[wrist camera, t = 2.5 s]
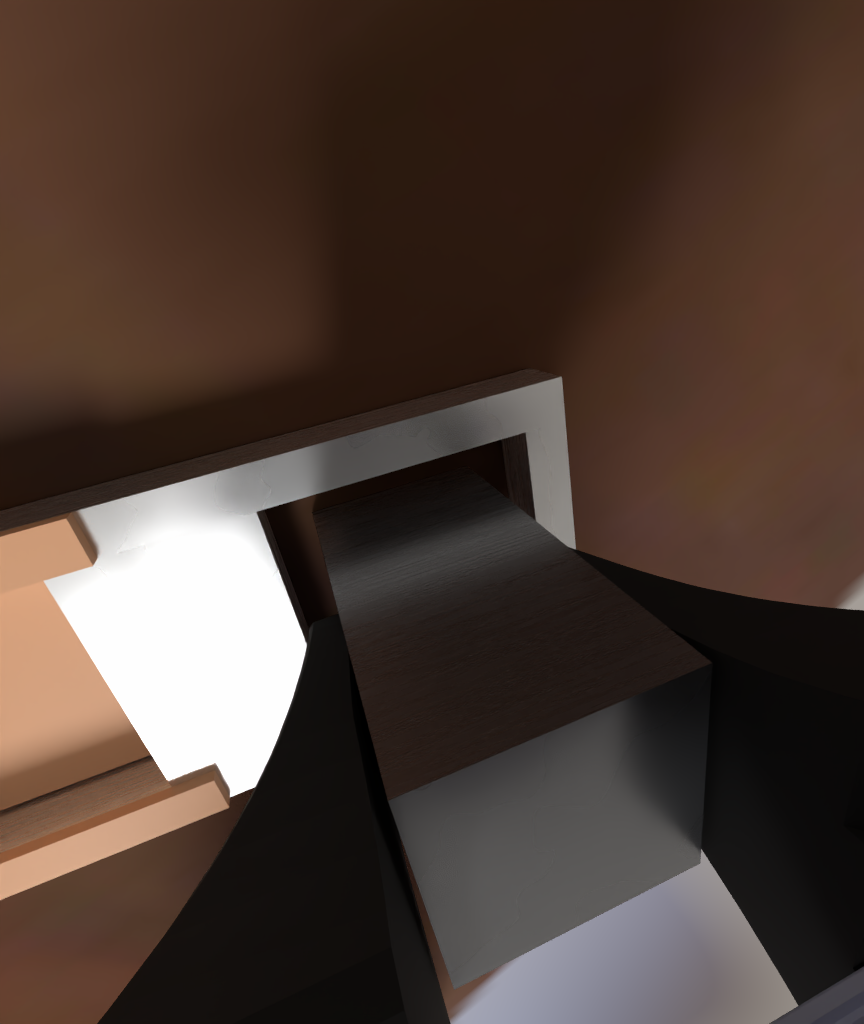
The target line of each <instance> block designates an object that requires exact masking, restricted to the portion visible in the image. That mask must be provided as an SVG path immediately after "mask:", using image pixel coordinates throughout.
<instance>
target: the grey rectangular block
mask: <svg viewBox="0 0 864 1024" xmlns="http://www.w3.org/2000/svg"><path fill="white" fill-rule="evenodd" d="M312 513H313V517H314V521H315V525H316V529H317V532H318V536H319V540H320V544H321V548H322V552H323V555H324V559H325V563H326V567H327V571H328V574H329V578H330V582H331V586H332V590H333V593H334V597H335V601H336V605H337V609H338V612H339V616H340V620H341V624H342V628H343V632H344V635H345V639H346V643H347V647H348V651H349V654H350V658H351V662H352V666H353V670H354V673H355V677H356V681H357V685H358V689H359V693H360V696H361V700H362V704H363V708H364V712H365V715H366V719H367V723H368V727H369V731H370V734H371V738H372V742H373V746H374V750H375V754H376V757H377V761H378V765H379V769H380V773H381V776H382V780H383V784H384V788H385V792H386V795H387V799H388V802H389V805H390V808H391V811H392V814H393V817H394V820H395V822H396V825H397V828H398V831H399V834H400V837H401V839H402V842H403V845H404V848H405V851H406V854H407V856H408V859H409V862H410V865H411V868H412V871H413V874H414V876H415V879H416V882H417V885H418V888H419V891H420V893H421V896H422V899H423V902H424V905H425V908H426V910H427V913H428V916H429V919H430V922H431V925H432V927H433V930H434V933H435V936H436V939H437V942H438V945H439V947H440V950H441V953H442V956H443V959H444V962H445V964H446V967H447V970H448V973H449V976H450V979H451V981H452V984H453V987H454V990H455V989H456V988H458V987H460V986H462V985H464V984H466V983H468V982H470V981H472V980H474V979H476V978H478V977H480V976H482V975H484V974H486V973H488V972H490V971H492V970H493V969H495V968H497V967H499V966H501V965H503V964H505V963H507V962H509V961H511V960H513V959H515V958H517V957H519V956H521V955H523V954H525V953H527V952H529V951H530V950H532V949H534V948H536V947H538V946H540V945H542V944H544V943H546V942H548V941H550V940H552V939H554V938H555V937H558V936H560V935H562V934H564V933H566V932H567V931H569V930H571V929H573V928H575V927H577V926H579V925H581V924H583V923H585V922H587V921H589V920H591V919H593V918H595V917H597V916H599V915H601V914H603V913H604V912H606V911H608V910H610V909H612V908H614V907H616V906H618V905H620V904H622V903H624V902H626V901H628V900H629V899H632V898H633V897H636V896H638V895H640V894H641V893H643V892H645V891H647V890H649V889H651V888H653V887H655V886H657V885H659V884H661V883H663V882H665V881H667V880H669V879H670V878H673V877H674V876H677V875H678V874H680V873H682V872H684V871H686V870H688V869H690V868H692V867H694V866H696V865H698V864H700V859H701V858H700V857H701V842H702V825H703V809H704V792H705V776H706V759H707V742H708V726H709V709H710V692H711V676H712V662H711V661H709V660H708V659H707V658H706V657H704V656H703V655H702V654H701V653H699V652H698V651H697V650H696V649H694V648H693V647H692V646H691V645H689V644H688V643H687V642H686V641H685V640H683V639H682V638H681V637H680V636H678V635H677V634H676V633H675V632H673V631H672V630H671V629H670V628H668V627H667V626H666V625H665V624H663V623H662V622H661V621H660V620H658V619H657V618H656V617H655V616H653V615H652V614H651V613H650V612H648V611H647V610H646V609H645V608H643V607H642V606H641V605H640V604H638V603H637V602H636V601H635V600H633V599H632V598H631V597H630V596H629V595H627V594H626V593H625V592H624V591H622V590H621V589H620V588H619V587H617V586H616V585H615V584H614V583H612V582H611V581H610V580H609V579H607V578H606V577H605V576H604V575H602V574H601V573H600V572H599V571H597V570H596V569H595V568H594V567H592V566H591V565H590V564H589V563H587V562H586V561H585V560H584V559H582V558H581V557H580V556H579V555H577V554H576V553H575V552H574V551H573V550H571V549H570V548H569V547H568V546H566V545H565V544H564V543H563V542H561V541H560V540H559V539H558V538H556V537H555V536H554V535H553V534H551V533H550V532H549V531H548V530H546V529H545V528H544V527H543V526H541V525H540V524H539V523H538V522H536V521H535V520H534V519H533V518H531V517H530V516H529V515H528V514H526V513H525V512H524V511H523V510H521V509H520V508H519V507H518V506H517V505H515V504H514V503H513V502H512V501H510V500H509V499H508V498H507V497H505V496H504V495H503V494H502V493H500V492H499V491H498V490H497V489H495V488H494V487H493V486H492V485H490V484H489V483H488V482H487V481H485V480H484V479H483V478H482V477H480V476H479V475H478V474H477V473H475V472H474V471H473V470H472V469H470V468H469V467H468V466H465V467H461V468H458V469H455V470H451V471H448V472H445V473H441V474H438V475H435V476H431V477H428V478H425V479H422V480H418V481H415V482H412V483H408V484H405V485H402V486H398V487H395V488H392V489H388V490H385V491H382V492H379V493H375V494H372V495H369V496H365V497H362V498H359V499H355V500H352V501H349V502H345V503H342V504H339V505H335V506H332V507H329V508H326V509H322V510H319V511H316V512H312Z"/></svg>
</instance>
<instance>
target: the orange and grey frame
mask: <svg viewBox="0 0 864 1024" xmlns="http://www.w3.org/2000/svg"><path fill="white" fill-rule="evenodd" d="M498 440H501V444H502V451H503V458H504V465H505V472H506V479H507V487H508V494H509V500H510V501H512V502H513V503H514V504H515V505H517V506H518V507H519V508H520V509H521V510H523V511H524V512H525V513H526V514H528V515H529V516H530V517H531V518H533V519H534V520H535V521H536V522H538V523H539V524H540V525H541V526H543V527H544V528H545V529H546V530H548V531H549V532H550V533H551V534H553V535H554V536H555V537H556V538H558V539H559V540H560V541H561V542H563V543H564V544H565V545H566V546H568V547H570V548H573V549H576V546H575V533H574V521H573V508H572V496H571V484H570V471H569V459H568V447H567V434H566V422H565V410H564V397H563V385H562V377H561V376H558V375H554V374H550V373H546V372H542V371H539V370H535V369H531V368H529V369H525V370H521V371H518V372H514V373H510V374H506V375H503V376H499V377H495V378H491V379H488V380H484V381H480V382H477V383H473V384H469V385H465V386H462V387H458V388H454V389H451V390H447V391H443V392H439V393H436V394H432V395H428V396H425V397H421V398H417V399H413V400H410V401H406V402H402V403H399V404H395V405H391V406H387V407H384V408H380V409H376V410H373V411H369V412H365V413H361V414H358V415H354V416H350V417H347V418H343V419H339V420H335V421H332V422H328V423H324V424H321V425H317V426H313V427H309V428H306V429H302V430H298V431H295V432H291V433H287V434H283V435H280V436H276V437H272V438H269V439H265V440H261V441H257V442H254V443H250V444H246V445H243V446H239V447H235V448H231V449H228V450H224V451H220V452H217V453H213V454H209V455H205V456H202V457H198V458H194V459H191V460H187V461H183V462H179V463H176V464H172V465H168V466H165V467H161V468H157V469H153V470H150V471H146V472H142V473H139V474H135V475H131V476H127V477H124V478H120V479H116V480H113V481H109V482H105V483H101V484H98V485H94V486H90V487H87V488H83V489H79V490H75V491H72V492H68V493H64V494H61V495H57V496H53V497H49V498H46V499H42V500H38V501H35V502H31V503H27V504H23V505H20V506H16V507H12V508H9V509H5V510H1V511H0V532H2V531H5V530H9V529H13V528H16V527H20V526H23V525H27V524H31V523H34V522H38V521H41V520H45V519H49V518H52V517H56V516H60V515H63V514H67V513H70V512H72V514H73V516H74V518H75V519H76V521H77V523H78V525H79V527H80V528H81V530H82V532H83V534H84V536H85V537H86V539H87V541H88V543H89V545H90V546H91V548H92V550H93V552H94V554H95V555H96V557H97V560H96V562H95V564H94V565H93V566H92V567H88V568H85V569H82V570H78V571H75V572H72V573H68V574H65V575H62V576H58V577H55V578H51V579H48V580H45V581H44V583H45V584H46V586H47V588H48V589H49V591H50V592H51V594H52V596H53V597H54V599H55V600H56V602H57V604H58V605H59V607H60V608H61V610H62V612H63V613H64V615H65V616H66V618H67V620H68V621H69V623H70V625H71V626H72V628H73V629H74V631H75V633H76V634H77V636H78V637H79V639H80V641H81V642H82V644H83V645H84V647H85V649H86V650H87V652H88V653H89V655H90V657H91V658H92V660H93V661H94V663H95V665H96V666H97V668H98V669H99V671H100V673H101V674H102V676H103V677H104V679H105V681H106V682H107V684H108V686H109V687H110V689H111V690H112V692H113V694H114V695H115V697H116V698H117V700H118V702H119V703H120V705H121V706H122V708H123V710H124V711H125V713H126V714H127V716H128V718H129V719H130V721H131V722H132V724H133V726H134V727H135V729H136V730H137V732H138V734H139V735H140V737H141V739H142V740H143V742H144V743H145V745H146V747H147V748H148V750H149V751H150V753H151V755H149V756H146V757H143V758H141V759H138V760H135V761H133V762H130V763H127V764H125V765H122V766H119V767H117V768H114V769H111V770H109V771H106V772H103V773H100V774H98V775H95V776H92V777H90V778H87V779H84V780H82V781H79V782H76V783H74V784H71V785H68V786H66V787H63V788H60V789H58V790H55V791H52V792H49V793H47V794H44V795H41V796H39V797H36V798H33V799H31V800H28V801H25V802H23V803H20V804H17V805H15V806H12V807H9V808H6V809H4V810H1V811H0V853H2V852H5V851H7V850H10V849H13V848H15V847H18V846H20V845H23V844H25V843H28V842H31V841H33V840H36V839H38V838H41V837H44V836H46V835H49V834H51V833H54V832H57V831H59V830H62V829H64V828H67V827H69V826H72V825H75V824H77V823H80V822H82V821H85V820H88V819H90V818H93V817H95V816H98V815H100V814H103V813H106V812H108V811H111V810H113V809H116V808H119V807H121V806H124V805H126V804H129V803H131V802H134V801H137V800H139V799H142V798H144V797H147V796H150V795H152V794H155V793H157V792H160V791H162V790H165V789H168V788H170V787H173V786H175V785H178V784H181V783H183V782H186V781H188V780H191V779H194V778H196V777H199V776H201V775H204V774H206V773H209V772H212V771H214V770H215V771H216V773H217V775H218V777H219V779H220V780H221V782H222V784H223V786H224V788H225V789H226V791H227V793H228V795H229V797H231V796H234V795H236V794H239V793H241V792H244V791H247V790H249V789H252V788H254V787H256V785H257V782H258V780H259V778H260V776H261V774H262V772H263V770H264V768H265V766H266V764H267V761H268V759H269V757H270V755H271V752H272V750H273V748H274V746H275V743H276V741H277V738H278V736H279V733H280V730H281V728H282V725H283V722H284V720H285V717H286V715H287V712H288V709H289V707H290V704H291V701H292V698H293V695H294V691H295V688H296V685H297V681H298V678H299V675H300V672H301V668H302V664H303V660H304V656H305V652H306V647H307V642H308V636H309V628H308V625H307V623H306V620H305V617H304V615H303V612H302V609H301V607H300V604H299V601H298V599H297V596H296V593H295V590H294V588H293V585H292V582H291V580H290V577H289V574H288V572H287V569H286V566H285V564H284V561H283V558H282V556H281V553H280V550H279V547H278V545H277V542H276V539H275V537H274V534H273V531H272V529H271V526H270V523H269V521H268V518H267V515H266V513H265V510H264V509H268V508H271V507H274V506H278V505H281V504H285V503H288V502H291V501H295V500H298V499H301V498H305V497H308V496H312V495H315V494H318V493H322V492H325V491H329V490H332V489H335V488H339V487H342V486H345V485H349V484H352V483H356V482H359V481H362V480H366V479H369V478H373V477H376V476H379V475H383V474H386V473H389V472H393V471H396V470H400V469H403V468H406V467H410V466H413V465H417V464H420V463H423V462H427V461H430V460H433V459H437V458H440V457H444V456H447V455H450V454H454V453H457V452H460V451H464V450H467V449H471V448H474V447H477V446H481V445H484V444H488V443H491V442H494V441H498Z"/></svg>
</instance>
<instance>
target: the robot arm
mask: <svg viewBox="0 0 864 1024" xmlns="http://www.w3.org/2000/svg"><path fill="white" fill-rule="evenodd" d="M569 548H570V547H569ZM570 549H571V550H573V551H574V552H575V553H576V554H577V555H579V556H580V557H581V558H582V559H584V560H585V561H586V562H587V563H589V564H590V565H591V566H592V567H594V568H595V569H596V570H597V571H599V572H600V573H601V574H602V575H604V576H605V577H606V578H607V579H609V580H610V581H611V582H612V583H614V584H615V585H616V586H617V587H619V588H620V589H621V590H622V591H624V592H625V593H626V594H627V595H629V596H630V597H631V598H632V599H633V600H635V601H636V602H637V603H638V604H640V605H641V606H642V607H643V608H645V609H646V610H647V611H648V612H650V613H651V614H652V615H653V616H655V617H656V618H657V619H658V620H660V621H661V622H662V623H663V624H665V625H666V626H667V627H668V628H670V629H671V630H672V631H673V632H675V633H676V634H677V635H678V636H680V637H681V638H682V639H683V640H685V641H686V642H687V643H688V644H689V645H691V646H692V647H693V648H694V649H696V650H697V651H698V652H699V653H701V654H702V655H703V656H704V657H706V658H707V659H708V660H709V661H711V662H712V676H711V692H710V709H709V726H708V742H707V759H706V776H705V792H704V809H703V825H702V842H701V849H702V850H703V852H704V853H705V855H706V856H707V858H708V860H709V861H710V863H711V864H712V866H713V867H714V869H715V870H716V872H717V873H718V875H719V877H720V878H721V880H722V881H723V883H724V884H725V886H726V888H727V889H728V891H729V892H730V894H731V895H732V897H733V899H734V900H735V902H736V903H737V905H738V906H739V908H740V909H741V911H742V913H743V914H744V916H745V918H746V919H747V921H748V922H749V924H750V926H751V927H752V929H753V931H754V932H755V934H756V936H757V937H758V939H759V940H760V942H761V944H762V945H763V947H764V949H765V950H766V952H767V954H768V955H769V957H770V958H771V960H772V962H773V964H774V965H775V967H776V968H777V970H778V972H779V973H780V975H781V977H782V978H783V980H784V982H785V983H786V985H787V987H788V989H789V990H790V992H791V994H792V995H793V997H794V999H795V1000H796V1002H797V1004H798V1007H796V1008H794V1009H793V1010H791V1011H789V1012H788V1013H786V1014H785V1015H783V1016H781V1017H779V1018H778V1019H776V1020H775V1021H773V1022H771V1023H770V1024H864V611H863V610H848V609H837V608H827V607H817V606H808V605H800V604H793V603H785V602H778V601H770V600H764V599H758V598H752V597H746V596H741V595H736V594H731V593H726V592H721V591H716V590H711V589H706V588H702V587H697V586H693V585H689V584H685V583H681V582H678V581H674V580H670V579H667V578H663V577H659V576H656V575H652V574H649V573H646V572H642V571H639V570H636V569H633V568H629V567H626V566H623V565H620V564H617V563H614V562H611V561H608V560H605V559H602V558H599V557H596V556H593V555H590V554H588V553H585V552H582V551H579V550H576V549H573V548H570ZM97 1024H450V1021H449V1017H448V1014H447V1010H446V1006H445V1003H444V999H443V996H442V992H441V989H440V985H439V982H438V978H437V974H436V971H435V967H434V964H433V960H432V956H431V953H430V949H429V946H428V942H427V938H426V935H425V931H424V928H423V924H422V920H421V917H420V913H419V910H418V906H417V902H416V899H415V895H414V891H413V888H412V884H411V881H410V877H409V873H408V870H407V866H406V862H405V858H404V853H403V849H402V844H401V840H400V835H399V831H398V828H397V825H396V822H395V820H394V817H393V814H392V811H391V808H390V805H389V802H388V799H387V795H386V792H385V788H384V784H383V780H382V776H381V773H380V769H379V765H378V761H377V757H376V754H375V750H374V746H373V742H372V738H371V734H370V731H369V727H368V723H367V719H366V715H365V712H364V708H363V704H362V700H361V696H360V693H359V689H358V685H357V681H356V677H355V673H354V670H353V666H352V662H351V658H350V654H349V651H348V647H347V643H346V639H345V635H344V632H343V628H342V624H341V620H340V616H339V614H336V615H333V616H330V617H327V618H325V619H322V620H319V621H316V622H313V624H312V625H311V627H310V629H309V636H308V642H307V647H306V652H305V656H304V660H303V664H302V668H301V672H300V675H299V678H298V681H297V685H296V688H295V691H294V695H293V698H292V701H291V704H290V707H289V709H288V712H287V715H286V717H285V720H284V722H283V725H282V728H281V730H280V733H279V736H278V738H277V741H276V743H275V746H274V748H273V750H272V752H271V755H270V757H269V759H268V761H267V764H266V766H265V768H264V770H263V772H262V774H261V776H260V778H259V780H258V782H257V785H256V787H255V789H254V791H253V793H252V795H251V796H250V798H249V800H248V802H247V804H246V806H245V807H244V809H243V811H242V813H241V815H240V817H239V819H238V820H237V822H236V824H235V826H234V828H233V830H232V831H231V833H230V835H229V836H228V838H227V840H226V842H225V843H224V845H223V847H222V848H221V850H220V852H219V853H218V855H217V857H216V858H215V860H214V861H213V863H212V864H211V866H210V868H209V869H208V871H207V872H206V874H205V875H204V877H203V878H202V880H201V881H200V883H199V884H198V886H197V888H196V889H195V891H194V892H193V894H192V895H191V897H190V898H189V900H188V901H187V903H186V904H185V906H184V908H183V909H182V911H181V912H180V914H179V915H178V917H177V918H176V920H175V921H174V922H173V924H172V925H171V927H170V928H169V930H168V931H167V932H166V934H165V935H164V937H163V938H162V939H161V941H160V942H159V943H158V945H157V946H156V947H155V949H154V950H153V951H152V953H151V954H150V955H149V957H148V958H147V959H146V961H145V962H144V963H143V965H142V966H141V967H140V969H139V970H138V971H137V973H136V974H135V975H134V977H133V978H132V979H131V981H130V982H129V983H128V984H127V986H126V987H125V988H124V990H123V991H122V992H121V994H120V995H119V996H118V998H117V999H116V1000H115V1002H114V1003H113V1004H112V1006H111V1007H110V1008H109V1010H108V1011H107V1012H106V1013H105V1015H104V1016H103V1017H102V1018H101V1020H100V1021H99V1022H98V1023H97Z"/></svg>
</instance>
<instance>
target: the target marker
mask: <svg viewBox="0 0 864 1024" xmlns="http://www.w3.org/2000/svg"><path fill="white" fill-rule="evenodd" d="M96 560H97V557H96V555H95V554H94V552H93V550H92V548H91V546H90V545H89V543H88V541H87V539H86V537H85V536H84V534H83V532H82V530H81V528H80V527H79V525H78V523H77V521H76V519H75V518H74V516H73V514H72V512H70V513H67V514H63V515H60V516H56V517H52V518H49V519H45V520H41V521H38V522H34V523H31V524H27V525H23V526H20V527H16V528H13V529H9V530H5V531H2V532H0V811H1V810H4V809H6V808H9V807H12V806H15V805H17V804H20V803H23V802H25V801H28V800H31V799H33V798H36V797H39V796H41V795H44V794H47V793H49V792H52V791H55V790H58V789H60V788H63V787H66V786H68V785H71V784H74V783H76V782H79V781H82V780H84V779H87V778H90V777H92V776H95V775H98V774H100V773H103V772H106V771H109V770H111V769H114V768H117V767H119V766H122V765H125V764H127V763H130V762H133V761H135V760H138V759H141V758H143V757H146V756H149V755H151V753H150V751H149V750H148V748H147V747H146V745H145V743H144V742H143V740H142V739H141V737H140V735H139V734H138V732H137V730H136V729H135V727H134V726H133V724H132V722H131V721H130V719H129V718H128V716H127V714H126V713H125V711H124V710H123V708H122V706H121V705H120V703H119V702H118V700H117V698H116V697H115V695H114V694H113V692H112V690H111V689H110V687H109V686H108V684H107V682H106V681H105V679H104V677H103V676H102V674H101V673H100V671H99V669H98V668H97V666H96V665H95V663H94V661H93V660H92V658H91V657H90V655H89V653H88V652H87V650H86V649H85V647H84V645H83V644H82V642H81V641H80V639H79V637H78V636H77V634H76V633H75V631H74V629H73V628H72V626H71V625H70V623H69V621H68V620H67V618H66V616H65V615H64V613H63V612H62V610H61V608H60V607H59V605H58V604H57V602H56V600H55V599H54V597H53V596H52V594H51V592H50V591H49V589H48V588H47V586H46V584H45V583H44V581H45V580H48V579H51V578H55V577H58V576H62V575H65V574H68V573H72V572H75V571H78V570H82V569H85V568H88V567H92V566H93V565H94V564H95V562H96ZM229 803H230V797H229V795H228V793H227V791H226V789H225V788H224V786H223V784H222V782H221V780H220V779H219V777H218V775H217V773H216V771H215V770H214V771H212V772H209V773H206V774H204V775H201V776H199V777H196V778H194V779H191V780H188V781H186V782H183V783H181V784H178V785H175V786H173V787H170V788H168V789H165V790H162V791H160V792H157V793H155V794H152V795H150V796H147V797H144V798H142V799H139V800H137V801H134V802H131V803H129V804H126V805H124V806H121V807H119V808H116V809H113V810H111V811H108V812H106V813H103V814H100V815H98V816H95V817H93V818H90V819H88V820H85V821H82V822H80V823H77V824H75V825H72V826H69V827H67V828H64V829H62V830H59V831H57V832H54V833H51V834H49V835H46V836H44V837H41V838H38V839H36V840H33V841H31V842H28V843H25V844H23V845H20V846H18V847H15V848H13V849H10V850H7V851H5V852H2V853H0V900H1V899H4V898H6V897H9V896H11V895H14V894H16V893H19V892H21V891H24V890H26V889H29V888H31V887H34V886H36V885H39V884H41V883H44V882H46V881H49V880H51V879H54V878H56V877H59V876H61V875H63V874H66V873H68V872H71V871H73V870H76V869H78V868H81V867H83V866H86V865H88V864H91V863H93V862H96V861H98V860H101V859H103V858H106V857H108V856H111V855H113V854H116V853H118V852H121V851H123V850H126V849H128V848H131V847H133V846H135V845H138V844H140V843H143V842H145V841H148V840H150V839H153V838H155V837H158V836H160V835H163V834H165V833H168V832H170V831H173V830H175V829H178V828H180V827H183V826H185V825H188V824H190V823H193V822H195V821H198V820H200V819H202V818H205V817H207V816H210V815H212V814H215V813H217V812H220V811H222V810H225V809H227V808H229Z"/></svg>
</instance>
